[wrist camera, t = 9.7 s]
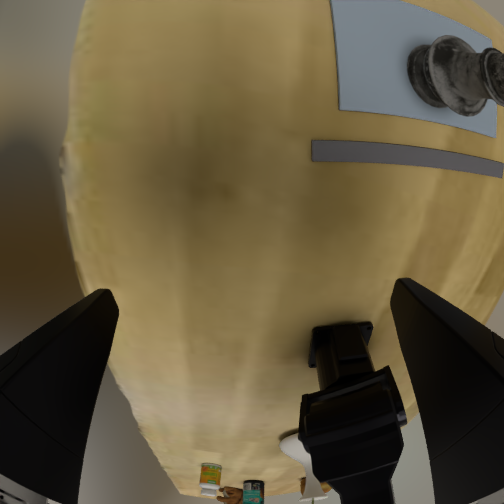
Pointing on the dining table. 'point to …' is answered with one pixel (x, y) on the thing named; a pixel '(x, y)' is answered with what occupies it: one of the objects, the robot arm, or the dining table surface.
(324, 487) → the bread roll
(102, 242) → the dining table surface
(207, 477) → the supplement bottle
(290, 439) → the flower in vase
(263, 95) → the dining table surface
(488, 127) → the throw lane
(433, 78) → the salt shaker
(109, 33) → the dining table surface
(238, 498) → the stuffed squirrel
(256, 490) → the beverage can
